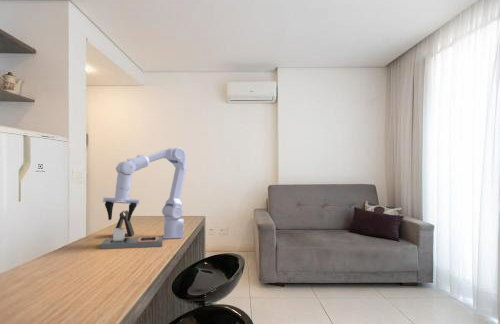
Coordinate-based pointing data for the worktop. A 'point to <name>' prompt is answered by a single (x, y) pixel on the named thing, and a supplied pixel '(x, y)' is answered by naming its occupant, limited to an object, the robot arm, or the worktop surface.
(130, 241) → the rail plate
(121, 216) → the phone stand
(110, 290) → the worktop surface
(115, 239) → the block
